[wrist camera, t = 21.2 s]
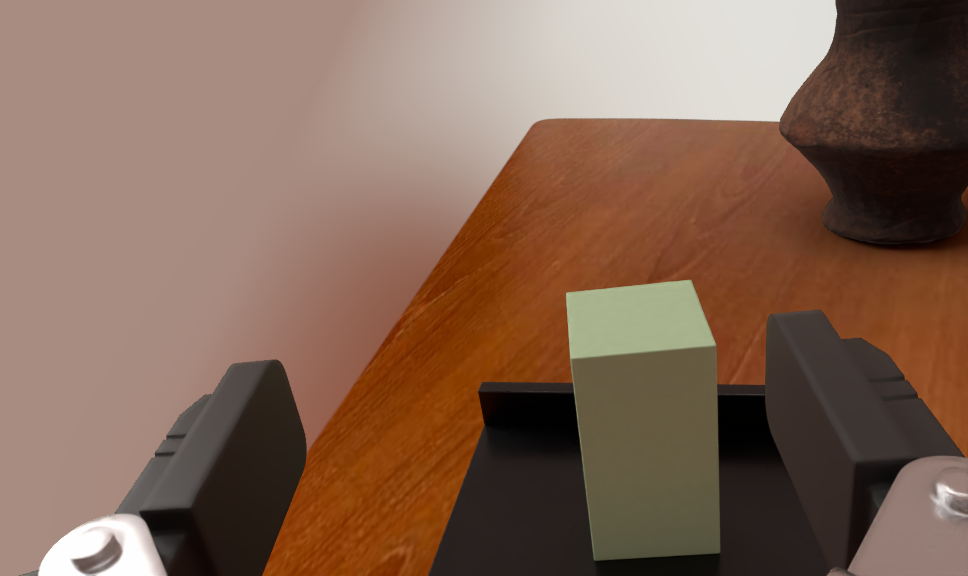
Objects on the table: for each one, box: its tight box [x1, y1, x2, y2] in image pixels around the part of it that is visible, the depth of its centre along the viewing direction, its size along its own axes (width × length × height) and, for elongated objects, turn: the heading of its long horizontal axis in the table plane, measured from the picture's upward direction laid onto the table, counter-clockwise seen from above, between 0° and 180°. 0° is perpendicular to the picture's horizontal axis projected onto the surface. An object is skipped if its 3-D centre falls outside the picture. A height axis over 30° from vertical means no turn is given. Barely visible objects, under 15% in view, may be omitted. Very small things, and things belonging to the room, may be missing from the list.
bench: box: [428, 382, 830, 576], centre depth 32 cm, size 16×12×10 cm
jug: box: [779, 0, 968, 244], centre depth 61 cm, size 21×18×30 cm
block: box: [566, 280, 720, 561], centre depth 29 cm, size 5×5×9 cm
